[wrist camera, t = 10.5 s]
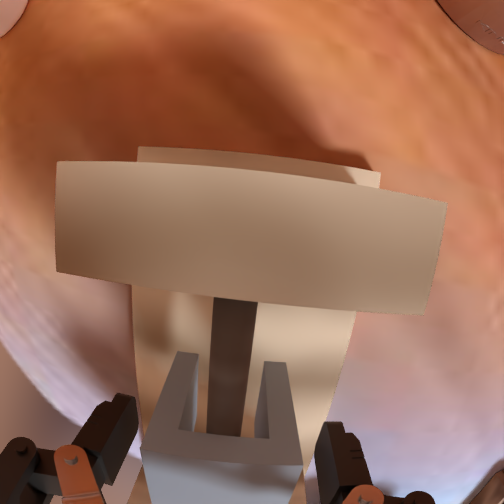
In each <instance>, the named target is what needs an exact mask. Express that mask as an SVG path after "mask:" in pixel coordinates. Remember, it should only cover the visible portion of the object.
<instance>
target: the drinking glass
mask: <svg viewBox="0 0 504 504" xmlns="http://www.w3.org/2000/svg"><path fill="white" fill-rule="evenodd" d="M27 3H28V0H0V37H2V36H3V35H5V34H6V33H7V32H8V31H9V30H10V29H11V28H12V27H13V26H14V25H15V24H16V22H17V21H18V20H19V18H20V17H21V15H22V14H23V12H24V10H25V8H26V6H27Z"/></svg>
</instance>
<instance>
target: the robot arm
mask: <svg viewBox="0 0 504 504" xmlns="http://www.w3.org/2000/svg"><path fill="white" fill-rule="evenodd" d="M437 1H438V2H439V4H440V5H441V6H442V8H443V9H444V10H445V12H446V13H447V14H448V15H449V16H450V17H451V19H452V20H453V21H454V22H455V23H456V24H457V25H458V26H459V27H460V28H461V29H462V30H463V31H464V32H465V33H466V34H467V35H469V36H470V37H471V38H473V39H474V40H475V41H476V42H477V43H479V44H481V45H482V46H484V47H485V48H487V49H489V50H491V51H493V52H496V53H498V54H503V55H504V0H437ZM138 424H139V421H138V414H137V407H136V399H135V397H133V396H129V395H125V394H121V393H117V394H116V395H115V397H114V399H113V400H112V402H108V401H104V402H103V403H101V404H99V405H98V406H96V408H95V409H94V411H93V412H92V414H91V416H90V417H89V418H88V420H87V422H86V423H85V424H84V426H83V427H82V429H81V430H80V432H79V433H78V435H77V436H76V438H75V439H74V441H73V442H72V444H71V445H64V446H61V447H59V448H58V449H57V450H56V451H53V450H46V449H40V448H36V446H35V444H34V442H33V441H32V440H30V439H28V438H25V437H17V438H14V439H12V440H11V441H10V442H9V443H8V444H7V446H6V447H5V449H4V450H3V452H2V453H1V454H0V504H50V502H51V499H52V498H53V496H54V495H58V496H63V498H62V504H106V502H105V499H104V497H103V494H102V491H101V488H102V486H103V484H104V483H105V484H108V485H111V486H112V485H113V483H114V481H115V479H116V476H117V474H118V472H119V470H120V468H121V466H122V463H123V461H124V459H125V457H126V455H127V453H128V451H129V448H130V446H131V444H132V442H133V440H134V438H135V436H136V434H137V430H138ZM314 458H315V465H316V472H317V479H318V486H319V493H320V501H321V504H435V501H434V499H433V498H432V496H431V495H429V494H428V493H426V492H423V491H415V492H411V493H409V494H408V495H407V496H406V497H405V498H400V497H392V496H386V495H383V493H382V492H381V491H380V490H379V489H378V488H377V487H375V486H373V484H372V481H371V477H370V474H369V471H368V467H367V464H366V461H365V459H364V454H363V451H362V448H361V444H360V441H359V440H358V439H357V437H356V436H355V435H354V434H353V433H345V430H344V426H343V423H342V422H324V423H323V425H322V428H321V430H320V433H319V436H318V439H317V442H316V445H315V450H314Z"/></svg>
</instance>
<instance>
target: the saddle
mask: <svg viewBox="0 0 504 504" xmlns="http://www.w3.org/2000/svg"><path fill="white" fill-rule="evenodd" d="M198 361H199V354H196V353H188V352H181V351H177V353H176V356H175V358H174V361H173V363H172V366H171V368H170V371H169V373H168V376H167V378H166V381H165V384H164V386H163V389H162V391H161V394H160V396H159V399H158V402H157V404H156V407H155V409H154V412H153V415H152V417H151V420H150V422H149V425H148V428H147V430H146V433H145V436H144V438H143V441H142V444H141V447H140V452H141V457H142V462H143V467H144V472H145V477H146V481H147V486H148V490H149V494H150V498H151V502H152V504H288V503H289V500H290V498H291V496H292V493H293V491H294V489H295V486H296V484H297V481H298V479H299V476H300V474H301V471H302V468H303V466H304V464H303V458H302V453H301V447H300V441H299V435H298V429H297V423H296V417H295V411H294V406H293V400H292V394H291V388H290V383H289V377H288V371H287V366H286V362H273V361H264V366H263V372H262V379H261V385H260V391H259V397H258V403H257V409H256V415H255V420H254V438H247V437H235V436H224V435H216V434H207V433H200V432H194V427H195V422H196V418H197V390H198Z"/></svg>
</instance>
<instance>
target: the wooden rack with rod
mask: <svg viewBox="0 0 504 504" xmlns="http://www.w3.org/2000/svg"><path fill="white" fill-rule="evenodd" d="M380 176H381V173H380V172H375V171H370V170H365V169H359V168H354V167H348V166H342V165H336V164H330V163H323V162H317V161H310V160H303V159H296V158H288V157H280V156H272V155H263V154H253V153H243V152H233V151H221V150H207V149H192V148H172V147H142V146H138V154H137V162H119V161H57V170H56V187H55V254H56V271H57V272H61V273H66V274H71V275H77V276H82V277H88V278H93V279H99V280H105V281H111V282H117V283H123V284H129V285H132V316H133V337H134V352H135V365H136V376H137V386H138V395H139V404H140V412H141V419H142V427H143V433H144V436H145V433H146V430H147V428H148V425H149V422H150V420H151V417H152V415H153V412H154V409H155V407H156V404H157V402H158V399H159V396H160V394H161V391H162V389H163V386H164V384H165V381H166V378H167V376H168V373H169V371H170V368H171V366H172V363H173V361H174V358H175V356H176V353H177V351H181V352H188V353H196V354H199V361H198V390H197V418H196V422H195V427H194V432H200V433H207V434H216V435H224V436H235V437H247V438H254V420H255V415H256V409H257V403H258V397H259V391H260V385H261V379H262V372H263V366H264V361H273V362H286V366H287V371H288V377H289V383H290V388H291V394H292V400H293V406H294V411H295V417H296V423H297V429H298V435H299V441H300V447H301V453H302V458H303V464H304V466H303V468H302V471H301V474H300V476H299V479H298V481H297V484H296V486H295V489H294V491H293V493H292V496H291V498H290V500H289V503H288V504H307V502H306V492H305V482H304V477H305V474H306V472H307V469H308V467H309V464H310V462H311V459H312V456H313V454H314V450H315V445H316V442H317V439H318V436H319V433H320V430H321V428H322V425H323V423H324V422H325V421H326V418H327V415H328V412H329V409H330V406H331V402H332V399H333V396H334V393H335V390H336V387H337V383H338V380H339V377H340V373H341V370H342V366H343V363H344V359H345V356H346V352H347V348H348V344H349V341H350V337H351V333H352V329H353V325H354V321H355V317H356V312H370V313H385V314H402V315H420V316H424V312H425V309H426V305H427V301H428V298H429V294H430V290H431V286H432V282H433V278H434V274H435V270H436V265H437V261H438V256H439V251H440V246H441V241H442V236H443V230H444V224H445V218H446V211H447V205H448V203H446V202H442V201H437V200H433V199H429V198H424V197H419V196H415V195H410V194H405V193H400V192H395V191H390V190H384V189H379V184H380ZM127 504H152V502H151V498H150V494H149V490H148V486H147V481H146V477H145V472H144V467H143V465H142V467H141V470H140V472H139V475H138V477H137V480H136V482H135V485H134V487H133V490H132V492H131V495H130V498H129V500H128V503H127Z"/></svg>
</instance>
